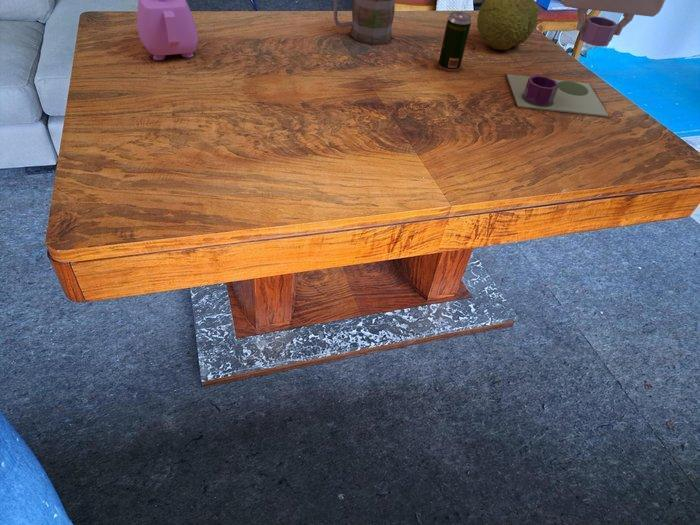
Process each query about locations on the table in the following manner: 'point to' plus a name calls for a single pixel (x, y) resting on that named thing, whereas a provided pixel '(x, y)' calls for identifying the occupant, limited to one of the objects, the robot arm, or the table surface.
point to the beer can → (454, 41)
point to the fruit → (506, 22)
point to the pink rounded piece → (166, 28)
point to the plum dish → (540, 90)
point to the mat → (561, 97)
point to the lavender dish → (598, 31)
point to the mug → (370, 20)
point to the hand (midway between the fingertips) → (597, 32)
